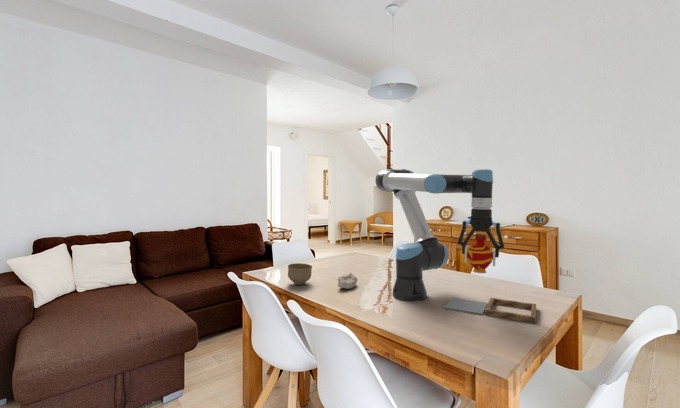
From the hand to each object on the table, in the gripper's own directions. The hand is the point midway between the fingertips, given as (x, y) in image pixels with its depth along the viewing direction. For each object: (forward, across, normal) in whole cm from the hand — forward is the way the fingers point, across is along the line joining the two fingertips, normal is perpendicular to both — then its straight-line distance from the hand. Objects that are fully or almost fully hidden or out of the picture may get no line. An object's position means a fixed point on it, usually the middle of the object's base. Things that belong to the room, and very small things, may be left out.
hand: (479, 263), depth 131 cm
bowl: (+21, -85, -6) cm, 88 cm away
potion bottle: (+3, 0, 0) cm, 3 cm away
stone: (+20, -61, 0) cm, 64 cm away
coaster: (+18, -4, -1) cm, 19 cm away
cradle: (+18, +12, 0) cm, 21 cm away
